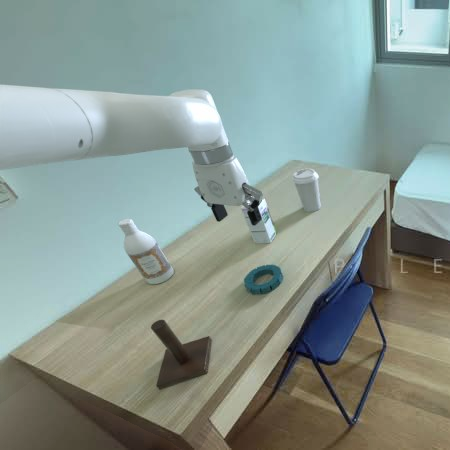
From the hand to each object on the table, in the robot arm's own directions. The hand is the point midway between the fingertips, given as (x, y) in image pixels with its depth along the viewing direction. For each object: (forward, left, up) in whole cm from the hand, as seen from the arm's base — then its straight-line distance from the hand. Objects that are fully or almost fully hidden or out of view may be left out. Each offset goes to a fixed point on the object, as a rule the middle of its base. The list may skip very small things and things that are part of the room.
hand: (239, 220), depth 75 cm
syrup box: (+24, -1, -22) cm, 33 cm away
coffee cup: (+38, -19, -22) cm, 48 cm away
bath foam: (+17, +29, -22) cm, 40 cm away
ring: (+2, 0, -22) cm, 22 cm away
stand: (-18, +17, -22) cm, 34 cm away
